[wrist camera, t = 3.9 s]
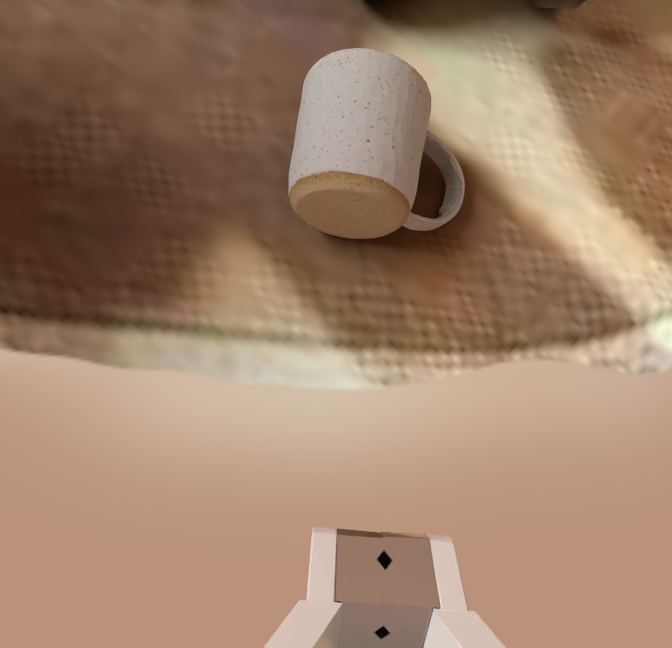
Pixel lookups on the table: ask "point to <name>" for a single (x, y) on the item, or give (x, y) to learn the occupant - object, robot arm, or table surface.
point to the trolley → (557, 4)
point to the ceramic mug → (366, 147)
